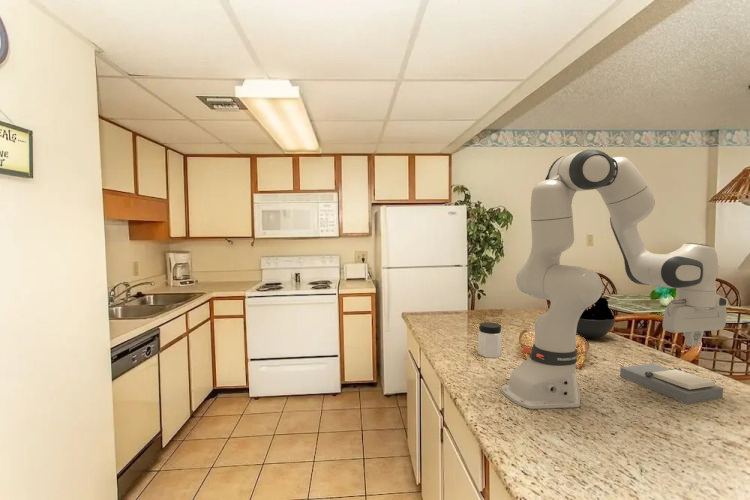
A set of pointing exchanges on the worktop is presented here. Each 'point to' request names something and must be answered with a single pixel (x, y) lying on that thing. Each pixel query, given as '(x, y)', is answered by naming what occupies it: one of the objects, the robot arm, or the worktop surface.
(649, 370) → the stand
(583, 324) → the coal bowl
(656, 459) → the worktop surface
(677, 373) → the tile
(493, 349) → the jar
